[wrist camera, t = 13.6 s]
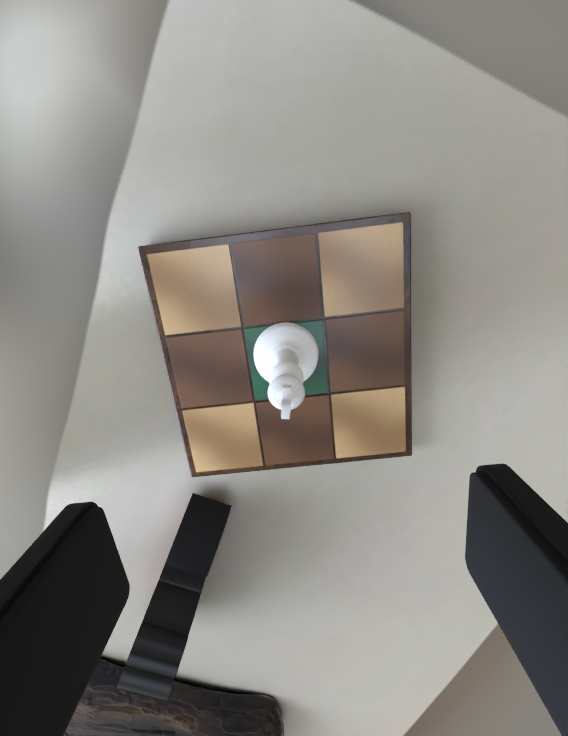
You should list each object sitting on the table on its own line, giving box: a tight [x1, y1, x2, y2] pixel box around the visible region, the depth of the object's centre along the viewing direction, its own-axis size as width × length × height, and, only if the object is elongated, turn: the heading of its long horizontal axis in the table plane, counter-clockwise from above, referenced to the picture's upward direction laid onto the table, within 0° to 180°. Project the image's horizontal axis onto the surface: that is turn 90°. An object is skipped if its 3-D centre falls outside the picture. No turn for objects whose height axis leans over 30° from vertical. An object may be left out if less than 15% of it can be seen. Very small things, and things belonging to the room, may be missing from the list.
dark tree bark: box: [64, 658, 284, 736], centre depth 39 cm, size 25×4×15 cm
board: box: [138, 212, 412, 477], centre depth 27 cm, size 19×19×1 cm
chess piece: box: [254, 322, 318, 419], centre depth 21 cm, size 5×5×10 cm
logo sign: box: [117, 493, 232, 701], centre depth 28 cm, size 18×4×11 cm, turn 158°
